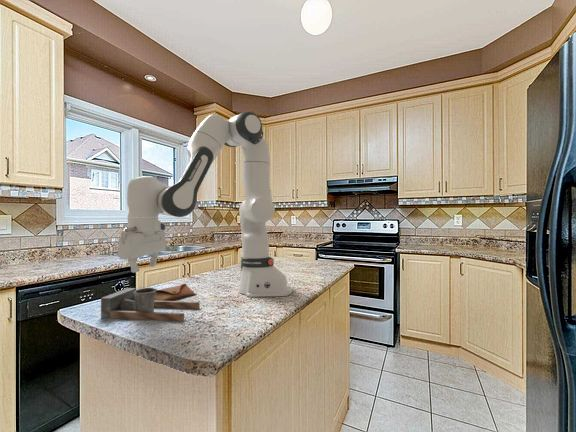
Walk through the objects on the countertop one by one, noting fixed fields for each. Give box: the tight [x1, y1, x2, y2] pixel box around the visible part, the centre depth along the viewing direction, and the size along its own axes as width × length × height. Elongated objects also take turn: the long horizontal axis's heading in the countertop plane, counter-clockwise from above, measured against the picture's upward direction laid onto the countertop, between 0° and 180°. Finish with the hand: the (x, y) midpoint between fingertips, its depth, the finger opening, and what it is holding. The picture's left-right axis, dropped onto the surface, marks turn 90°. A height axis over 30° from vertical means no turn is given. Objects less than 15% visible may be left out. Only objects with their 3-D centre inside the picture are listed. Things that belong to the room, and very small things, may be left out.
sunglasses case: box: [155, 283, 198, 301], centre depth 109 cm, size 18×7×7 cm
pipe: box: [120, 287, 158, 312], centre depth 90 cm, size 6×13×8 cm, turn 73°
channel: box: [100, 287, 200, 322], centre depth 92 cm, size 26×12×6 cm, turn 84°
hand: (144, 269), depth 93 cm, fingers open, 8 cm apart
